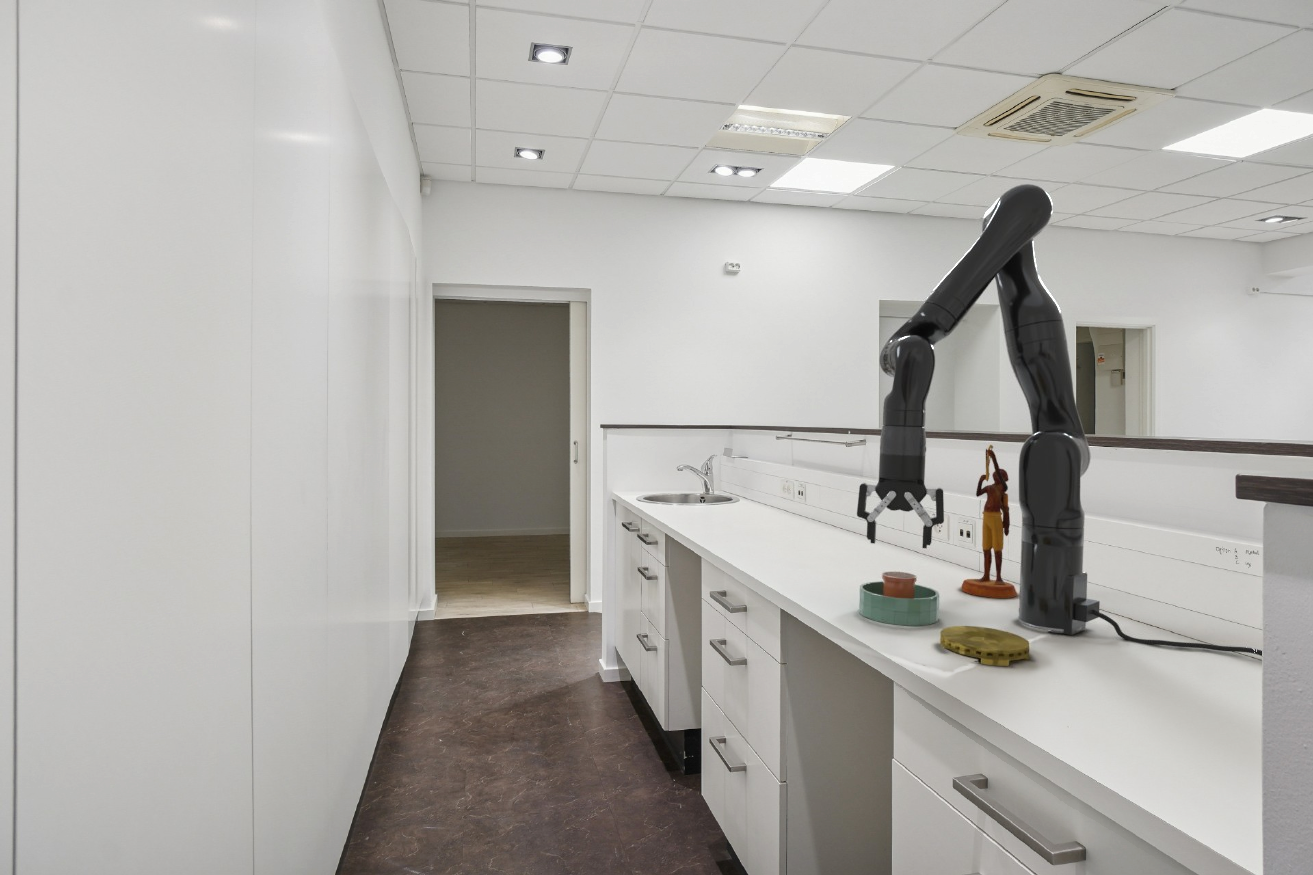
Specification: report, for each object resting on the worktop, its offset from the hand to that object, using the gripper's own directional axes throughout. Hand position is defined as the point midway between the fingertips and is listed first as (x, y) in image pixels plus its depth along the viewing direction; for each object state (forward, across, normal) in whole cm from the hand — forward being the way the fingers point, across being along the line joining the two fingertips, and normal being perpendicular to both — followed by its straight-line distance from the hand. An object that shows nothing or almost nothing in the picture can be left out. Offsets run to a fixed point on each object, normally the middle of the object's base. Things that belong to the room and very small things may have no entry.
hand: (898, 545), depth 125 cm
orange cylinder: (+12, 0, 0) cm, 12 cm away
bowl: (+13, 0, 0) cm, 13 cm away
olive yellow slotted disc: (+13, +13, -14) cm, 23 cm away
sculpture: (+13, +16, +28) cm, 35 cm away
